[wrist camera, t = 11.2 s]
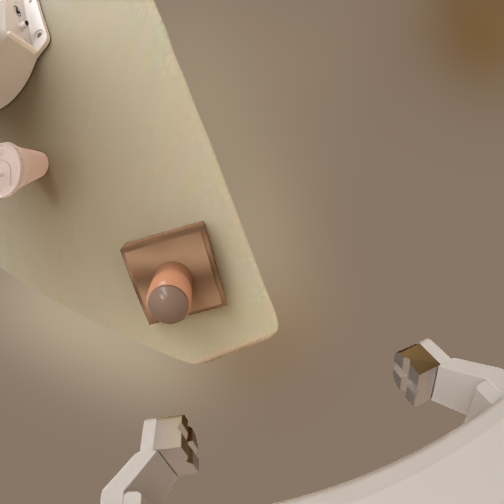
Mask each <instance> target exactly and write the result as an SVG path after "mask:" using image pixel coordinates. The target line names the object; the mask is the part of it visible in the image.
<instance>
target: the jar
mask: <svg viewBox="0 0 504 504" xmlns="http://www.w3.org/2000/svg"><path fill="white" fill-rule="evenodd" d="M191 300H192V275H191V272H190V271H189V269H188V268H187V267H186V266H185V265H183V264H181V263H179V262H175V261H170V262H165V263H163V264H161V265H160V266H159V267H158V268H157V269H156V271H155V273H154V276H153V279H152V281H151V284H150V287H149V290H148V293H147V296H146V306H147V309H148V311H149V313H150V314H151V315H152V316H153V317H154V318H155V319H156V320H158V321H160V322H162V323H167V324H172V323H176V322H179V321H181V320H183V319H184V318H185V317H186V316H187V315H188V314H189V312H190V309H191Z"/></svg>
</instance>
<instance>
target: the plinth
mask: <svg viewBox="0 0 504 504" xmlns="http://www.w3.org/2000/svg"><path fill="white" fill-rule="evenodd" d="M120 251H121V254H122V257H123V259H124V262H125V265H126V267H127V270H128V273H129V275H130V278H131V281H132V283H133V286H134V288H135V291H136V293H137V296H138V298H139V301H140V303H141V306H142V308H143V311H144V313H145V315H146V318H147V320H148V322H149V325H150V324H154V323H158V322H160V321H158V320H156V319H155V318H154V317H153V316H152V315H151V314H150V313H149V311H148V309H147V306H146V296H147V293H148V290H149V287H150V284H151V281H152V279H153V276H154V273H155V271H156V269H157V268H158V267H159V266H160V265H161V264H163V263H165V262H170V261H175V262H179V263H181V264H183V265H185V266H186V267H187V268H188V269H189V271H190V272H191V275H192V300H191V309H190V312H189V314H188V315H191V314H194V313H198V312H202V311H206V310H210V309H214V308H218V307H221V306H225V305H227V303H226V297H225V293H224V290H223V286H222V283H221V280H220V276H219V273H218V270H217V266H216V263H215V259H214V256H213V252H212V249H211V245H210V242H209V238H208V235H207V231H206V228H205V224H204V221H202V222H198V223H194V224H191V225H187V226H184V227H180V228H177V229H173V230H170V231H166V232H163V233H159V234H156V235H152V236H149V237H146V238H142V239H139V240H136V241H132V242H129V243H126V244H125V245H124V246H123V247H122V249H121V250H120Z"/></svg>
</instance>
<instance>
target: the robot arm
mask: <svg viewBox="0 0 504 504" xmlns="http://www.w3.org/2000/svg"><path fill="white" fill-rule="evenodd" d="M40 34H42V35H41V36H40ZM39 36H40V37H39ZM49 42H50V35H49V32H48V29H47V26H46V22H45V19H44V16H43V13H42V10H41V6H40V3H39V0H0V109H1V108H3V107H4V106H6V105H7V104H9V103H10V102H11V101H12V100H13V99H14V98H15V97H16V96H17V95H18V94H19V92H20V91H21V90H22V88H23V87H24V85H25V84H26V82H27V80H28V79H29V77H30V75H31V72H32V70H33V68H34V65H35V63H36V60H37V59H38V57H39V56H40V54H41V53H42V52H43V51H44V50H45V48H46V47H47V45H48V44H49ZM394 361H395V362H396V363H397V364H396V366H395V368H394V372H393V375H394V380H395V382H396V385H397V386H398V388H399V389H400V390H402V391H405V392H406V398H407V399H408V401H409V402H410V403H411V405H412V406H413V407H415V406H417V405H420V404H422V403H424V402H426V401H428V400H430V399H432V400H433V401H435V402H437V403H440V404H442V405H445V406H447V407H449V408H451V409H454V410H456V411H459V412H461V413H463V414H466V415H467V416H466V418H465V421H464V423H463V425H461V426H460V427H458V428H456V429H455V430H453V431H451V432H450V433H448V434H446V435H445V436H443V437H441V438H440V439H438V440H436V441H434V442H432V443H431V444H429V445H427V446H425V447H423V448H422V449H419V450H417V451H416V452H414V453H412V454H410V455H408V456H406V457H403V458H401V459H400V460H397V461H395V462H393V463H391V464H389V465H386V466H384V467H382V468H380V469H377V470H375V471H372V472H370V473H368V474H365V475H363V476H360V477H357V478H355V479H352V480H350V481H347V482H344V483H341V484H338V485H336V486H333V487H330V488H327V489H324V490H321V491H318V492H314V493H311V494H307V495H304V496H301V497H297V498H293V499H289V500H285V501H281V502H277V503H273V504H504V370H503V369H501V368H497V367H493V366H488V365H483V364H479V363H475V362H470V361H465V360H462V359H457V358H453V359H451V358H450V357H449V356H447V354H445V353H444V352H443V351H442V350H441V349H440V348H439V347H438V346H437V345H436V344H435V343H434V342H433V341H431V340H430V339H425V340H423V341H421V342H419V343H417V344H414V345H412V346H410V347H408V348H405V349H403V350H401V351H398V352H396V354H395V357H394ZM197 451H198V443H197V439H196V435H195V433H194V431H193V429H192V428H191V427H189V426H188V420H187V418H186V417H185V415H177V416H169V417H162V418H155V419H146V420H145V422H144V425H143V432H142V439H141V447H140V452H136V453H135V455H134V456H133V457H132V458H131V459H130V460H129V461H128V462H127V464H126V465H125V466H124V467H123V468H122V469H121V470H120V471H119V472H118V474H117V475H116V476H115V477H114V478H113V479H112V480H111V481H110V483H108V485H107V486H106V487H105V488H104V489H103V490H102V495H101V500H100V504H162V503H163V501H164V499H165V498H166V496H167V495H168V493H169V491H170V490H171V488H172V486H173V485H174V483H175V481H176V480H177V478H178V477H177V476H181V475H189V474H195V473H199V461H198V458H197V456H196V455H195V454H196V452H197Z"/></svg>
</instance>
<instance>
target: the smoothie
mask: <svg viewBox="0 0 504 504" xmlns="http://www.w3.org/2000/svg"><path fill="white" fill-rule="evenodd" d="M48 166H49V161H48V158H47V156H46V155H45V154H44V153H43V152H40V151H35V150H31V149H26V148H21V147H17V146H16V145H15V144H13V143H11V142H4V143H0V198H4V197H9V196H11V195H13V194H14V193H15V192H16V191H17V190H18V189H19V188H21V187H23V186H25V185H27V184H29V183H30V182H32V181H34V180H36V179H38V178H40V177H42V176H44V175H45V173H46V172H47V170H48Z"/></svg>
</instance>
